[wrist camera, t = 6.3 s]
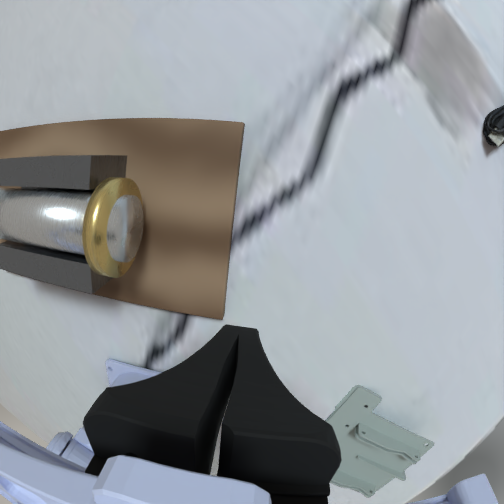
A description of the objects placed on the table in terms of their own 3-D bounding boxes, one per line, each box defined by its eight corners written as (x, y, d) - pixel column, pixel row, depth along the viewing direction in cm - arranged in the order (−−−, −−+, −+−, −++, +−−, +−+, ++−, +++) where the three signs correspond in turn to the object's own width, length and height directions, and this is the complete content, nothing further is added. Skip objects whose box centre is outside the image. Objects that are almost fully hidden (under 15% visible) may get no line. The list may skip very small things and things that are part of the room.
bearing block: (123, 270, 22) (92, 294, 18) (34, 252, 22) (0, 268, 18) (127, 155, 20) (90, 155, 15) (32, 156, 20) (-6, 159, 15)
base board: (224, 314, 23) (222, 319, 22) (6, 266, 24) (1, 269, 23) (244, 124, 19) (243, 122, 18) (3, 131, 20) (-2, 131, 19)
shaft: (148, 261, 21) (107, 295, 15) (5, 236, 22) (-39, 253, 16) (152, 175, 19) (106, 182, 13) (3, 172, 20) (-45, 180, 14)
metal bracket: (456, 444, 20) (362, 514, 24) (446, 412, 25) (366, 483, 29) (345, 389, 23) (263, 472, 27) (349, 358, 28) (277, 441, 33)
